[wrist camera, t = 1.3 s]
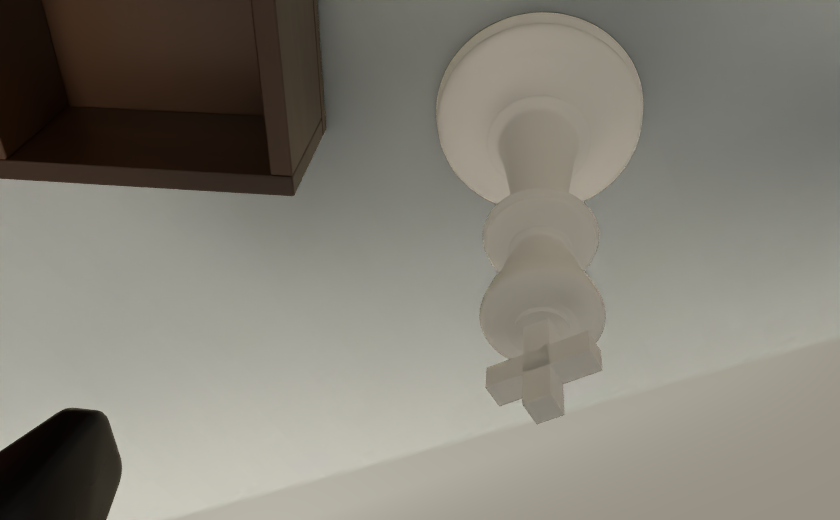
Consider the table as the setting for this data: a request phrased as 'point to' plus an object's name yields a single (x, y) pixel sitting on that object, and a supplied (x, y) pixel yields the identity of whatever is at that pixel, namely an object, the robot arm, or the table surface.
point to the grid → (161, 93)
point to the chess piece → (540, 187)
